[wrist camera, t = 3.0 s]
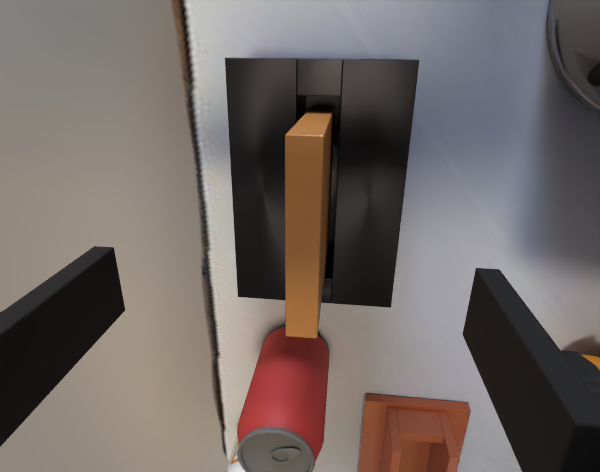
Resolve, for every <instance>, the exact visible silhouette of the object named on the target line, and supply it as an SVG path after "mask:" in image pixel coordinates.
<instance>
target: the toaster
mask: <svg viewBox="0 0 600 472" xmlns="http://www.w3.org/2000/svg"><path fill="white" fill-rule="evenodd" d="M225 66H226V85H227V103H228V121H229V140H230V158H231V176H232V195H233V213H234V231H235V250H236V268H237V286H238V297H248V298H263V299H277V300H286V295H285V135H286V134H287V133H288V131H289V130H290V129H291V128H292V127H293V126H294V125H295V124H296V123H297V122H298V121H299V120H300V119H301V118H302V117H303V116H304V115H305V113H306V112H307V111H308V110H309V109H310V108H311V107H312V106H313V105H318V106H335V112H334V136H333V159H332V182H331V206H330V229H329V240H328V249H327V258H326V266H325V275H324V283H323V292H322V300H321V303H335V304H349V305H364V306H378V307H391V301H392V292H393V284H394V275H395V266H396V258H397V249H398V240H399V231H400V223H401V214H402V205H403V197H404V188H405V179H406V170H407V162H408V153H409V144H410V136H411V127H412V118H413V109H414V101H415V92H416V83H417V75H418V66H419V60H390V59H296V58H225Z"/></svg>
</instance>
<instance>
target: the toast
mask: <svg viewBox="0 0 600 472" xmlns="http://www.w3.org/2000/svg"><path fill="white" fill-rule="evenodd" d="M334 112H335V106H318V105H313V106H312V107H311V108H310V109H309V110H308V111H307V112H306V113H305V115H304V116H303V117H302V118H301V119H300V120H299V121H298V122H297V123H296V124H295V125H294V126H293V127H292V128H291V129H290V130H289V131H288V133H287V134H286V135H285V295H286V336H291V337H304V338H317V335H318V326H319V318H320V309H321V300H322V292H323V283H324V275H325V266H326V258H327V249H328V240H329V229H330V206H331V182H332V159H333V136H334Z"/></svg>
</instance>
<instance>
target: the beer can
mask: <svg viewBox="0 0 600 472" xmlns="http://www.w3.org/2000/svg"><path fill="white" fill-rule="evenodd" d="M328 368H329V351H328V349H327V346H326V344H325V342H324V341H323V340H322V339H321V338H320V337H319V335H317V338H304V337H291V336H286V327H283V328H279V329H277V330H276V331H274V332H272V333H271V334H269V336H268V337H267V338H266V339H265V340H264V343H263V346H262V349H261V352H260V355H259V359H258V362H257V365H256V368H255V371H254V375H253V378H252V381H251V384H250V387H249V391H248V394H247V397H246V400H245V403H244V407H243V410H242V413H241V416H240V420H239V423H238V429H237V436H238V444H239V447H238V450H237V456H238V461H239V463H240V465H241V467H242V468H243V470H244V471H245V472H312V471H313V469H314V466H315V461H316V459H317V457H318V455H319V452H320V450H321V448H322V445H323V441H324V426H325V412H326V397H327V382H328Z"/></svg>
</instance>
